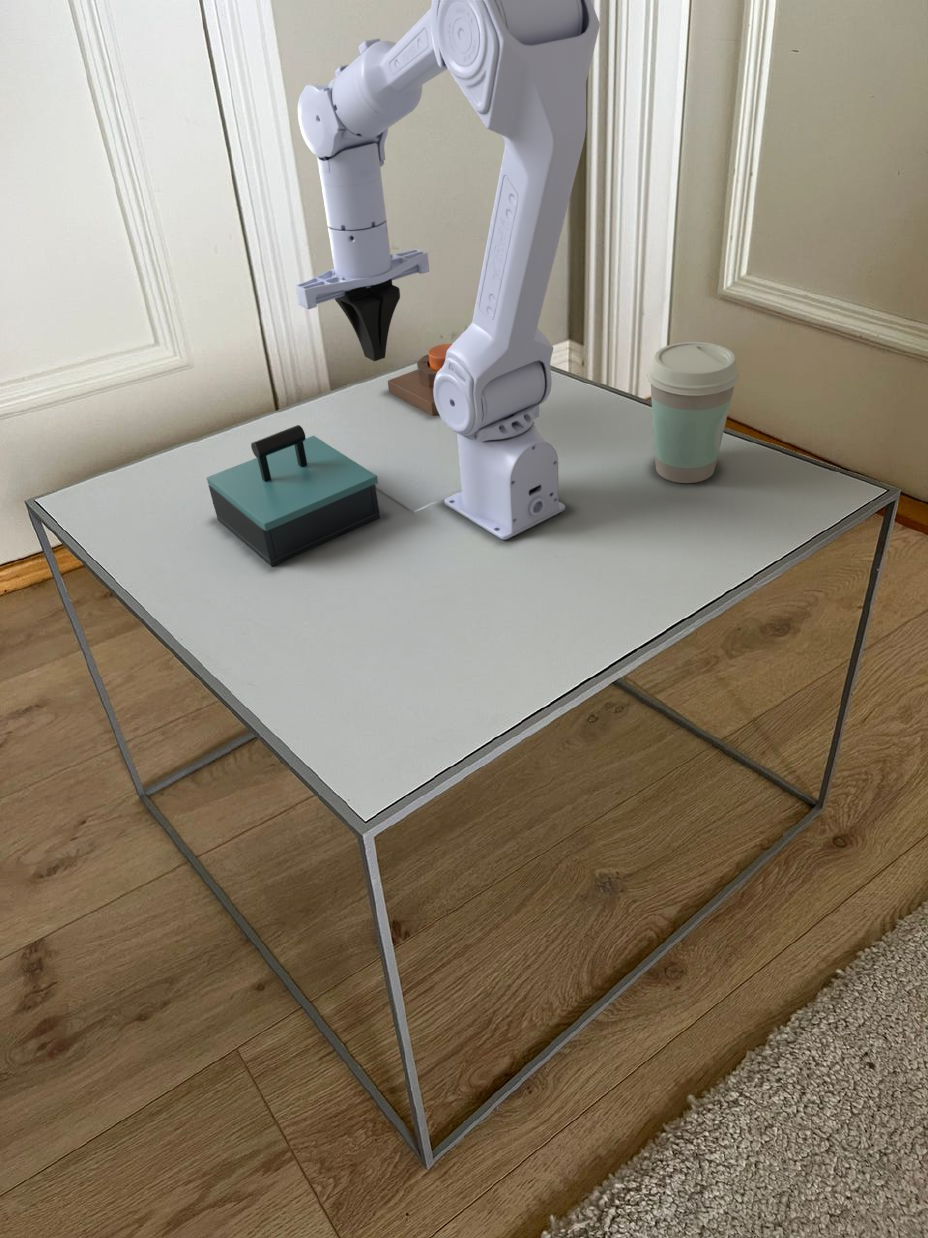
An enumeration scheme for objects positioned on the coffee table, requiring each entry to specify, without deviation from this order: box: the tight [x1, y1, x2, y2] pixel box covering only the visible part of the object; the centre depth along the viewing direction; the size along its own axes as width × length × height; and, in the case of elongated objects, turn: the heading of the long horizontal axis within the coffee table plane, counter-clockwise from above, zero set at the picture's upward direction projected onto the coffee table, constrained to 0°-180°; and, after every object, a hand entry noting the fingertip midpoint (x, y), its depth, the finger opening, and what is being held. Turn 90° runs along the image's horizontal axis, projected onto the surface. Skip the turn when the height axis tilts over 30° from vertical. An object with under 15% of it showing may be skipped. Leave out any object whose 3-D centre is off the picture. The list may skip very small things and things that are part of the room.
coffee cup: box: [646, 341, 740, 484], centre depth 93 cm, size 9×8×12 cm
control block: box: [387, 353, 439, 417], centre depth 114 cm, size 12×9×4 cm
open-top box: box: [208, 484, 381, 567], centre depth 93 cm, size 11×12×4 cm
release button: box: [428, 343, 453, 370], centre depth 113 cm, size 4×4×2 cm
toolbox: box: [206, 424, 379, 531], centre depth 90 cm, size 12×12×5 cm
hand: (375, 356), depth 99 cm, fingers closed
